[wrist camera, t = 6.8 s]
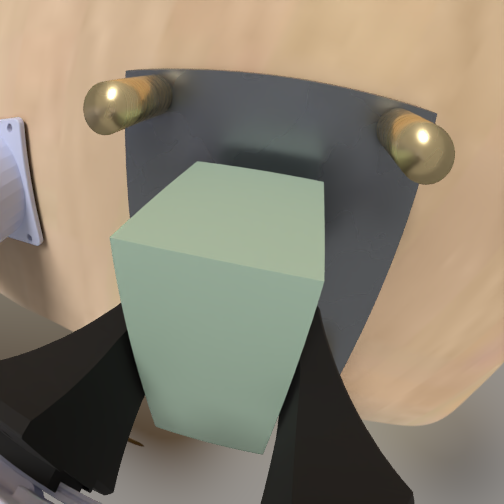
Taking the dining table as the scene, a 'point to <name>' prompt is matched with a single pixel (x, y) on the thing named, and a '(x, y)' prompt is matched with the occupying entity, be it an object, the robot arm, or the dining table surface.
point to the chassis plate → (287, 160)
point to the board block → (221, 297)
